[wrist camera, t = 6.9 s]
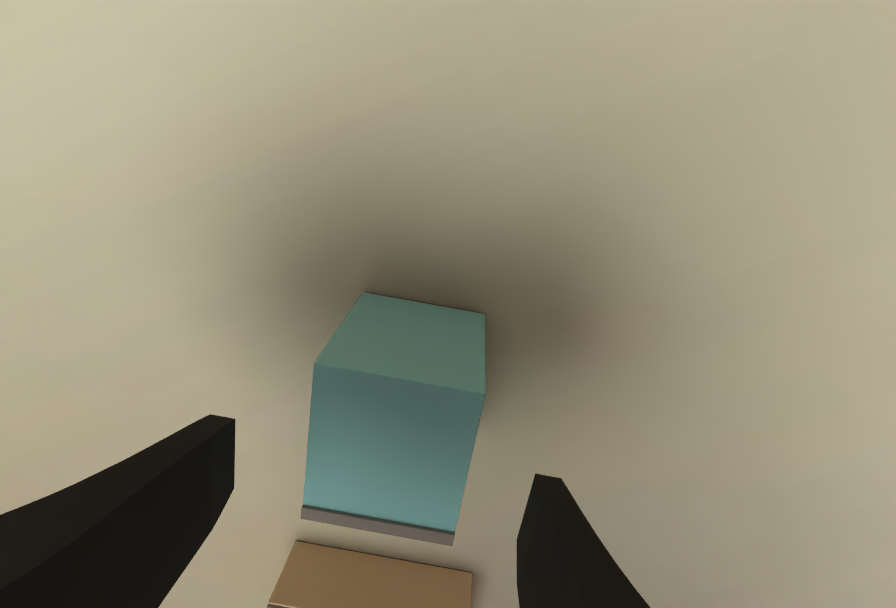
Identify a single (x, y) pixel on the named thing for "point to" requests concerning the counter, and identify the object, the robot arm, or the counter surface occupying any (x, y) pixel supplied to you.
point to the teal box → (395, 418)
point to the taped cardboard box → (365, 582)
